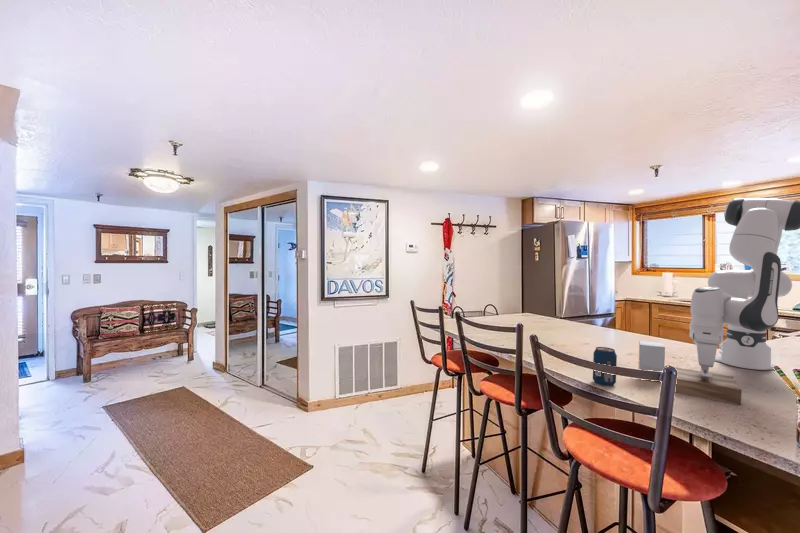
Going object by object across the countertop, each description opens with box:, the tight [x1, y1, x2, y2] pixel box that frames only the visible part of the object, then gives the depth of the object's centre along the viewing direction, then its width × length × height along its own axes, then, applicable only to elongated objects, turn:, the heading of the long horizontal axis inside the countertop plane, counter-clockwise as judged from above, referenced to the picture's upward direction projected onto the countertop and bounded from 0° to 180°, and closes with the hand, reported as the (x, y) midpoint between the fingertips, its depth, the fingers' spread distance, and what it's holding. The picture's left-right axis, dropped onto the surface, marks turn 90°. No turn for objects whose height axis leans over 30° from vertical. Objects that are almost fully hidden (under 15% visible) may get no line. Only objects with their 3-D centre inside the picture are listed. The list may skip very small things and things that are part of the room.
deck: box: [675, 367, 743, 406], centre depth 123 cm, size 24×16×4 cm, turn 142°
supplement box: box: [638, 340, 666, 371], centre depth 132 cm, size 7×7×13 cm
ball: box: [698, 369, 712, 381], centre depth 123 cm, size 4×4×4 cm
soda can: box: [592, 346, 618, 388], centre depth 126 cm, size 7×7×12 cm
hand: (704, 374), depth 126 cm, fingers closed
